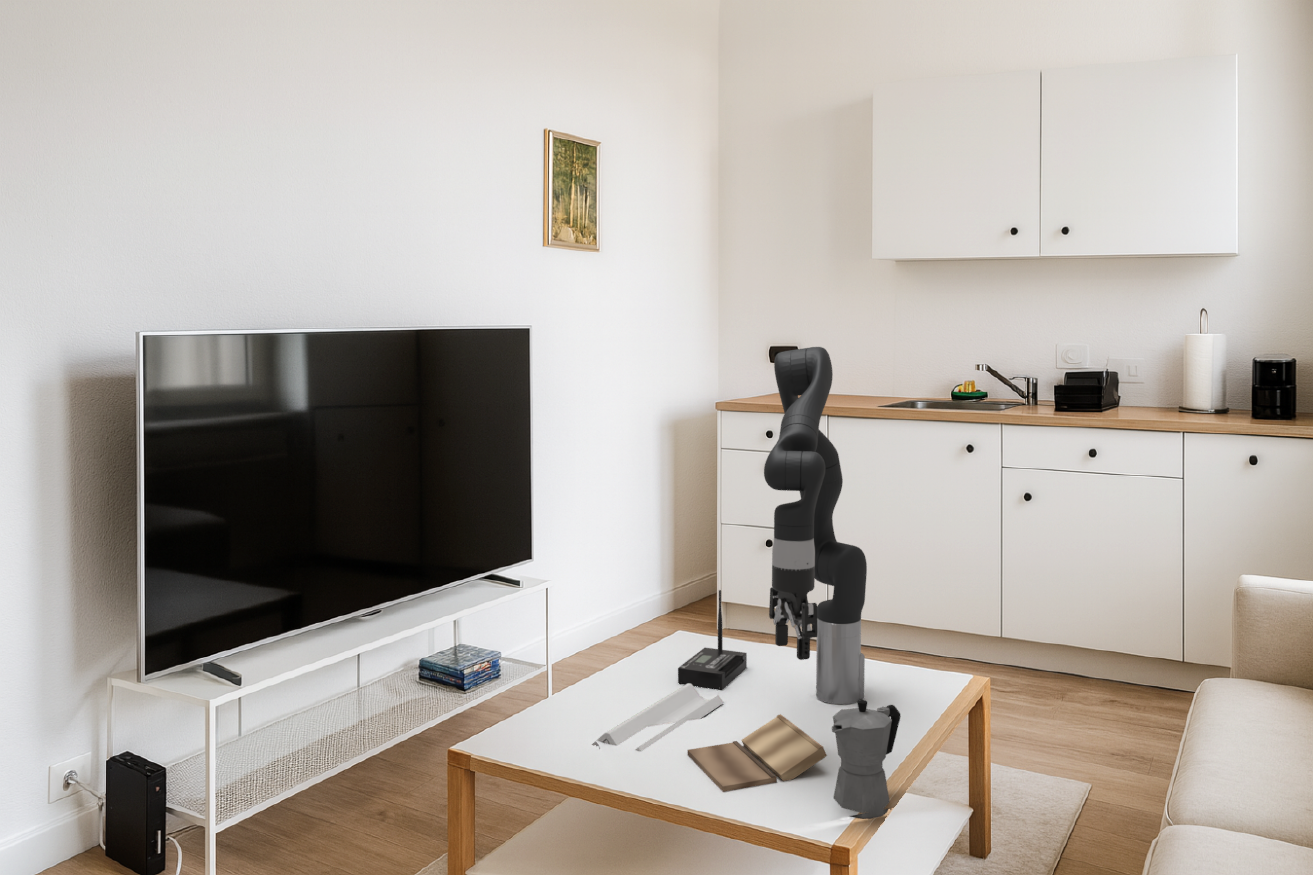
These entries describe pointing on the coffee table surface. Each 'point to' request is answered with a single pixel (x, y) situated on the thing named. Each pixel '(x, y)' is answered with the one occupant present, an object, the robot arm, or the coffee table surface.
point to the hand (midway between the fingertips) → (792, 651)
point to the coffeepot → (864, 757)
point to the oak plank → (784, 748)
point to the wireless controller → (713, 664)
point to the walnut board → (731, 766)
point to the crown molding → (663, 716)
